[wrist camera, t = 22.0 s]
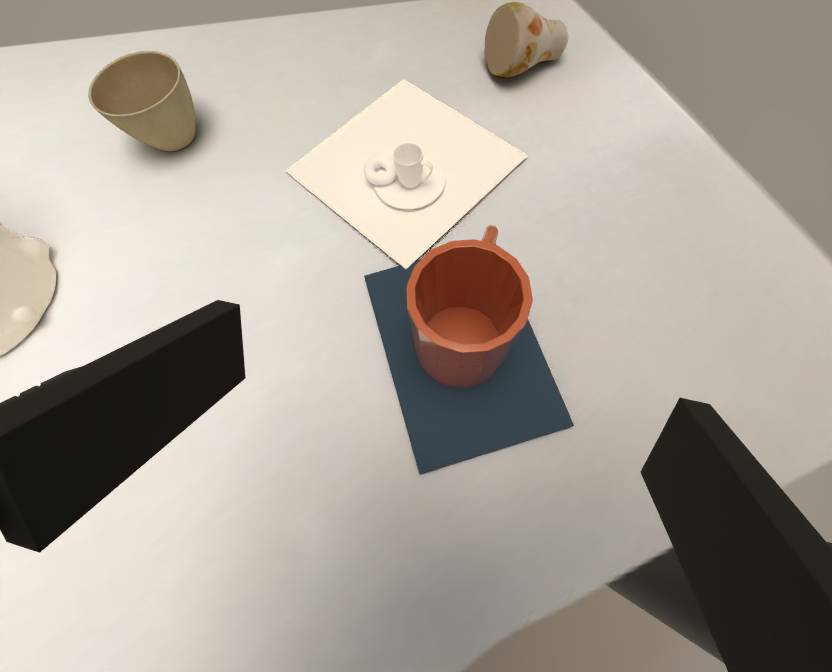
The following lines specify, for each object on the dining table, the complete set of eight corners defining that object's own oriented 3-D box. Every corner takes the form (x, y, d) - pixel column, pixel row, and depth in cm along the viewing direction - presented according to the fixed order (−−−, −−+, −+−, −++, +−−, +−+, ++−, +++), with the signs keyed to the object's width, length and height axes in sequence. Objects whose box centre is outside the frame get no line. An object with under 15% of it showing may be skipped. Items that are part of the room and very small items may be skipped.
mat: (572, 426, 34) (574, 425, 33) (420, 474, 33) (419, 474, 33) (492, 241, 41) (493, 238, 40) (365, 278, 40) (364, 275, 39)
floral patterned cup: (577, 69, 49) (574, 11, 40) (504, 110, 53) (486, 67, 44) (558, 18, 49) (550, -50, 40) (487, 62, 53) (466, 9, 44)
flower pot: (231, 130, 48) (197, 74, 41) (168, 181, 46) (121, 130, 39) (183, 95, 51) (144, 37, 44) (121, 142, 48) (69, 88, 42)
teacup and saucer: (355, 182, 44) (347, 154, 40) (404, 142, 45) (401, 111, 42) (410, 224, 41) (407, 198, 37) (460, 180, 43) (462, 150, 39)
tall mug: (490, 400, 34) (513, 369, 24) (402, 371, 36) (388, 329, 25) (522, 291, 38) (554, 223, 27) (441, 268, 39) (442, 194, 29)
